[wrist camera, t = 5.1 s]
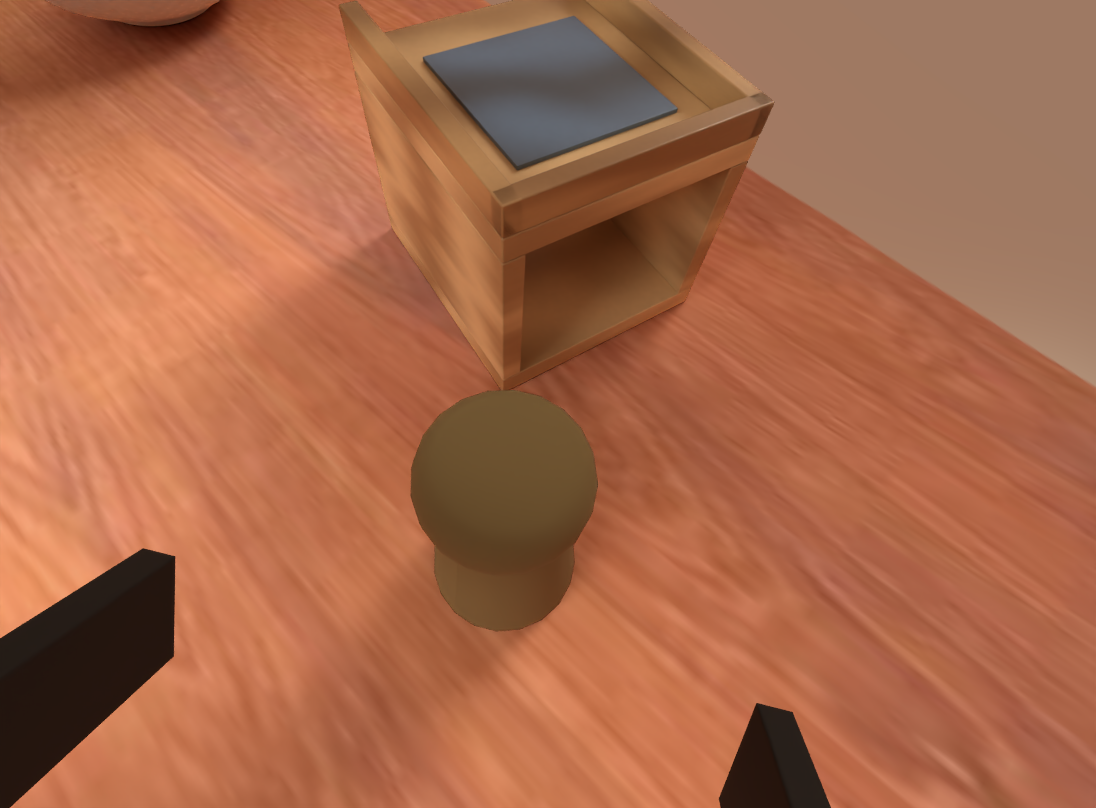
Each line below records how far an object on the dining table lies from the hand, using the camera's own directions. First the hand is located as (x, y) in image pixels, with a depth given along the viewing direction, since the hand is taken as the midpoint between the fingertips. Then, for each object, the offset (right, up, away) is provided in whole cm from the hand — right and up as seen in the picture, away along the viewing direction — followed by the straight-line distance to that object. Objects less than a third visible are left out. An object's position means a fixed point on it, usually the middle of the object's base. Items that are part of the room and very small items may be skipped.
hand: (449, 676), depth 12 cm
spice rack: (+1, +14, +20) cm, 24 cm away
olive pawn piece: (0, -1, +12) cm, 12 cm away
